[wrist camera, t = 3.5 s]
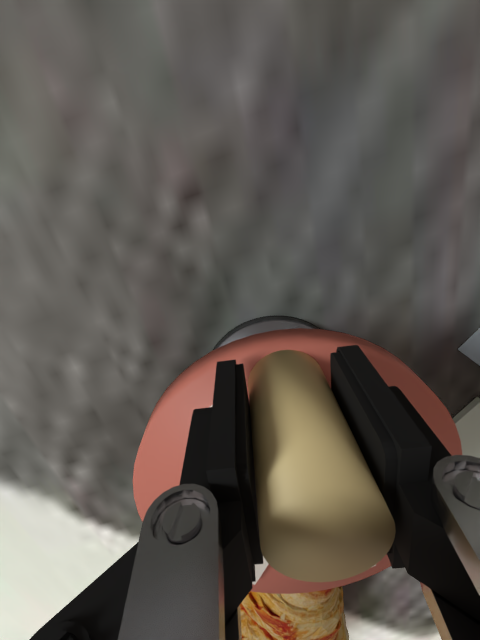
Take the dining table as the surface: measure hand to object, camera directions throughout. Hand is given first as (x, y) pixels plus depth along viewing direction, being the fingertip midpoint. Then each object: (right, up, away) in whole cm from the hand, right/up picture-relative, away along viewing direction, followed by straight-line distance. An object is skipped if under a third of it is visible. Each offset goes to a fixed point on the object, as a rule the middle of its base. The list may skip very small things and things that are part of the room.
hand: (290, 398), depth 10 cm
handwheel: (+1, -4, +4) cm, 5 cm away
